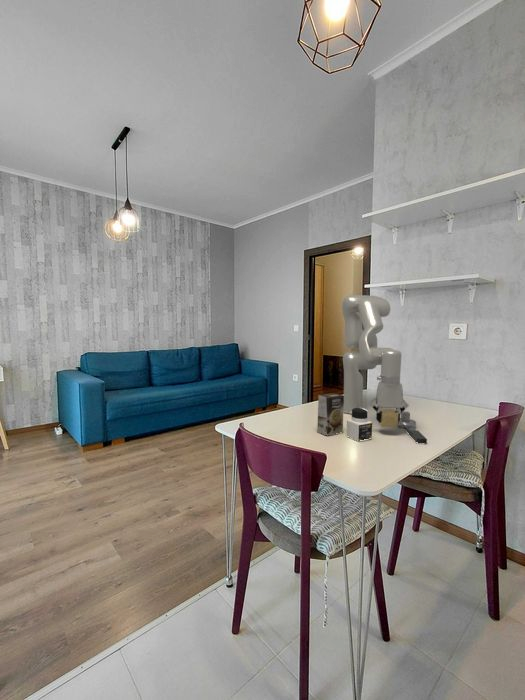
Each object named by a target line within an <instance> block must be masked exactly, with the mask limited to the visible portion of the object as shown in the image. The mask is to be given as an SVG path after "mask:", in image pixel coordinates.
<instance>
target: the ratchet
mask: <svg viewBox="0 0 525 700" xmlns="http://www.w3.org/2000/svg"><path fill="white" fill-rule="evenodd" d="M398 427H399V428H398V429H401V428H403V429H402V430H404V429H405V430H406V431H407V432H408V433H409V434H408V433H407V432H406V431H405V430H404V431H405V432H406V433H407V434H408V436H409V435H410V436H411V437H412V438H413V439H414V440H415V441H416V442H418V443H428V442H427V441H428V439H427V438H426V437H425V436H424V435H423V434H422V433H421V432H420V431H419V430H417V429H416V428H417V421H416V420H414V419H412V418H411V413H410V412H409V411H405V410H404V411H403V412H402V413H401V414H400V421H398ZM410 436H409V437H410ZM411 437H410V438H411ZM412 438H411V439H412ZM413 439H412V440H413ZM414 440H413V441H414ZM415 441H414V442H415ZM416 442H415V443H416Z"/></svg>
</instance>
